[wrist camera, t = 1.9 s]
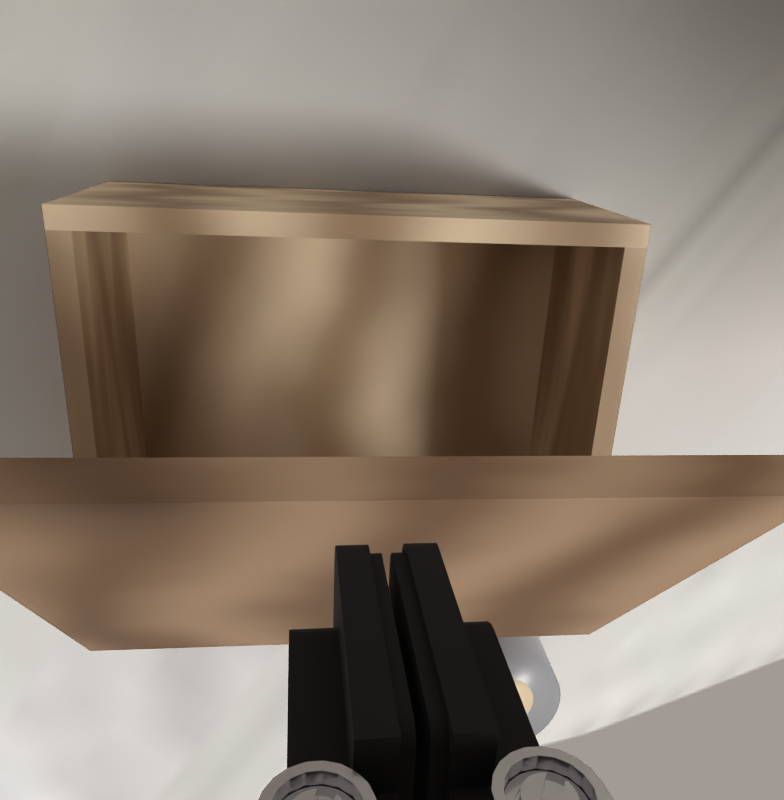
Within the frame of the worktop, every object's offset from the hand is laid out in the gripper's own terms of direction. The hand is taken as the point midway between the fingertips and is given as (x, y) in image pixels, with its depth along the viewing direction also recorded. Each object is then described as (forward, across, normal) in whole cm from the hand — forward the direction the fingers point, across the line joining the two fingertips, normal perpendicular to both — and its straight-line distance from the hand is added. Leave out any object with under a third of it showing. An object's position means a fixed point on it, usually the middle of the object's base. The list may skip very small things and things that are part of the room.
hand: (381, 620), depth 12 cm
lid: (+9, -1, +5) cm, 11 cm away
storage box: (+23, -1, +3) cm, 23 cm away
